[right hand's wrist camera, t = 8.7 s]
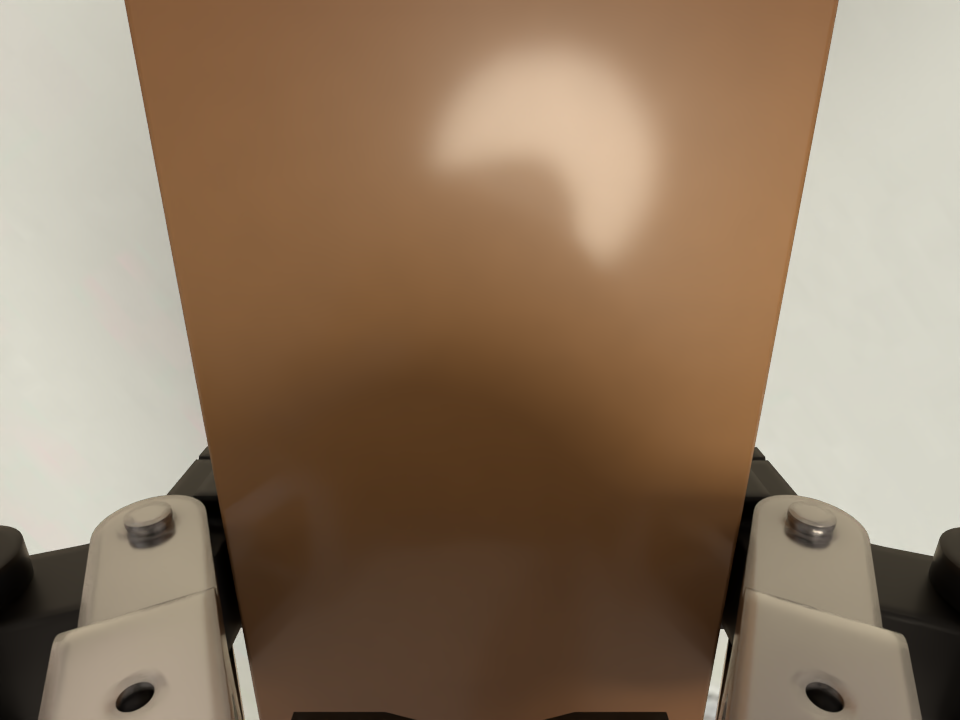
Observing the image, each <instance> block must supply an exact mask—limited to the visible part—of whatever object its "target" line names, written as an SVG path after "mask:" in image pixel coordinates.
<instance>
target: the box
mask: <svg viewBox="0 0 960 720" xmlns="http://www.w3.org/2000/svg"><path fill="white" fill-rule="evenodd" d="M124 1H125V6H126V11H127V17H128V22H129V27H130V32H131V38H132V43H133V48H134V54H135V59H136V64H137V70H138V75H139V80H140V86H141V91H142V96H143V102H144V107H145V112H146V118H147V123H148V128H149V134H150V139H151V144H152V149H153V155H154V160H155V165H156V171H157V176H158V181H159V187H160V192H161V197H162V203H163V208H164V213H165V219H166V224H167V229H168V235H169V240H170V245H171V251H172V256H173V261H174V266H175V272H176V277H177V282H178V288H179V293H180V298H181V304H182V309H183V314H184V320H185V325H186V330H187V336H188V341H189V346H190V352H191V357H192V362H193V368H194V373H195V378H196V383H197V389H198V394H199V399H200V405H201V410H202V415H203V421H204V426H205V431H206V437H207V442H208V447H209V453H210V458H211V463H212V469H213V474H214V479H215V484H216V490H217V495H218V500H219V506H220V511H221V516H222V522H223V527H224V532H225V538H226V543H227V548H228V554H229V559H230V564H231V570H232V575H233V580H234V586H235V591H236V596H237V601H238V607H239V612H240V617H241V623H242V628H243V633H244V639H245V644H246V649H247V655H248V660H249V665H250V671H251V676H252V681H253V687H254V692H255V697H256V703H257V708H258V713H259V718H260V720H291V718H292V715H293V712H388V713H392V714H396V715H400V716H403V717H407V718H411V719H415V720H545V719H549V718H553V717H557V716H560V715H564V714H568V713H572V712H667V715H668V718H669V720H703V718H704V712H705V707H706V702H707V696H708V691H709V686H710V680H711V675H712V670H713V665H714V659H715V654H716V649H717V643H718V638H719V633H720V627H721V622H722V617H723V611H724V606H725V601H726V596H727V590H728V585H729V580H730V574H731V569H732V564H733V558H734V553H735V548H736V542H737V537H738V532H739V527H740V521H741V516H742V511H743V505H744V500H745V495H746V489H747V484H748V479H749V474H750V468H751V463H752V458H753V452H754V447H755V442H756V436H757V431H758V426H759V420H760V415H761V410H762V405H763V399H764V394H765V389H766V383H767V378H768V373H769V367H770V362H771V357H772V351H773V346H774V341H775V336H776V330H777V325H778V320H779V314H780V309H781V304H782V298H783V293H784V288H785V282H786V277H787V272H788V267H789V261H790V256H791V251H792V245H793V240H794V235H795V229H796V224H797V219H798V213H799V208H800V203H801V198H802V192H803V187H804V182H805V176H806V171H807V166H808V160H809V155H810V150H811V144H812V139H813V134H814V129H815V123H816V118H817V113H818V107H819V102H820V97H821V91H822V86H823V81H824V75H825V70H826V65H827V60H828V54H829V49H830V44H831V38H832V33H833V28H834V22H835V17H836V12H837V6H838V1H839V0H124Z"/></svg>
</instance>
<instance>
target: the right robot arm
mask: <svg viewBox="0 0 960 720" xmlns="http://www.w3.org/2000/svg"><path fill="white" fill-rule="evenodd" d="M240 628H242V623H241V617H240V612H239V607H238V601H237V596H236V591H235V586H234V580H233V575H232V570H231V564H230V559H229V554H228V548H227V543H226V538H225V532H224V527H223V522H222V516H221V511H220V506H219V500H218V495H217V490H216V484H215V479H214V474H213V469H212V463H211V458H210V453H209V447H208V446H207V447H206V449H205V450H204V451H203V452H202V453H201V454H200V456H199V460H195V462H194V463H193V464H192V465H191V466H190V468H189V469H188V470H187V471H186V472H185V474H184V475H183V476H182V477H181V478H180V480H179V481H178V482H177V483H176V484H175V486H174V487H173V488H172V489H171V490H170V492H169V493H168V494H167V495H164V496H157V497H152V498H148V499H144V500H141V501H138V502H135V503H132V504H130V505H128V506H125V507H123V508H121V509H119V510H117V511H116V512H114V513H112V514H111V515H109V516H108V517H107V518H105V519H104V520H103V521H102V522H101V523H100V524H99V525H98V526H97V527H96V528H95V530H94V532H93V533H92V536H91V539H90V544H85V545H81V546H76V547H71V548H65V549H60V550H55V551H50V552H45V553H40V554H35V555H29V554H28V551H27V548H26V545H25V542H24V539H23V536H22V534H21V533H20V532H19V531H18V530H17V529H15V528H12V527H8V526H0V720H245V717H244V711H243V704H242V698H241V691H240V685H239V678H238V672H237V666H236V659H235V654H234V649H233V643H234V640H235V638H236V636H237V634H238V632H239V630H240ZM720 629H724V630H725V632H726V634H727V636H728V638H729V639H728V644H727V649H726V654H725V659H724V666H723V672H722V679H721V685H720V692H719V698H718V705H717V711H716V717H715V720H960V527H959V528H953V529H950V530H947V531H946V532H944V533H943V534H942V535H941V537H940V539H939V542H938V545H937V548H936V551H935V554H934V556H929V555H924V554H919V553H913V552H908V551H903V550H898V549H893V548H888V547H883V546H878V545H874V544H870V539H869V536H868V533H867V532H866V530H865V528H864V527H863V526H862V525H861V524H860V523H859V522H858V521H857V520H856V519H855V518H853V517H852V516H851V515H849V514H848V513H846V512H844V511H843V510H841V509H839V508H837V507H835V506H832V505H830V504H828V503H825V502H822V501H819V500H816V499H812V498H808V497H803V496H798V495H797V494H796V493H795V492H794V491H793V489H792V488H791V487H790V486H789V485H788V483H787V482H786V481H785V480H784V479H783V478H782V476H781V475H780V474H779V473H778V472H777V470H776V469H775V468H774V467H773V466H772V465H771V463H770V462H769V461H768V460H765V456H764V455H763V454H762V453H761V452H760V450H759V449H758V448H757V447H754V452H753V458H752V463H751V468H750V474H749V479H748V484H747V489H746V495H745V500H744V505H743V511H742V516H741V521H740V527H739V532H738V537H737V542H736V548H735V553H734V558H733V564H732V569H731V574H730V580H729V585H728V590H727V596H726V601H725V606H724V611H723V617H722V622H721V627H720ZM291 720H415V719H411V718H407V717H403V716H400V715H396V714H392V713H388V712H293V715H292V718H291ZM545 720H669V718H668V715H667V712H572V713H568V714H564V715H560V716H557V717H553V718H549V719H545Z"/></svg>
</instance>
